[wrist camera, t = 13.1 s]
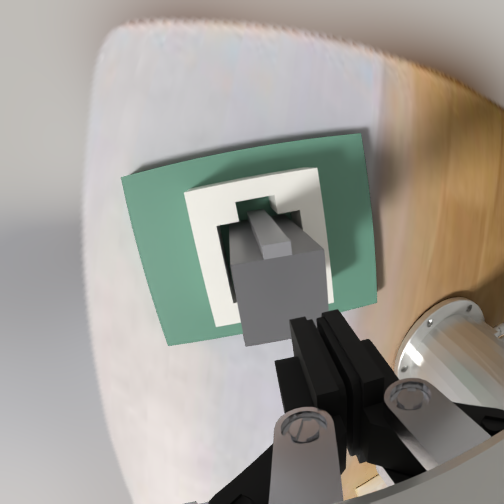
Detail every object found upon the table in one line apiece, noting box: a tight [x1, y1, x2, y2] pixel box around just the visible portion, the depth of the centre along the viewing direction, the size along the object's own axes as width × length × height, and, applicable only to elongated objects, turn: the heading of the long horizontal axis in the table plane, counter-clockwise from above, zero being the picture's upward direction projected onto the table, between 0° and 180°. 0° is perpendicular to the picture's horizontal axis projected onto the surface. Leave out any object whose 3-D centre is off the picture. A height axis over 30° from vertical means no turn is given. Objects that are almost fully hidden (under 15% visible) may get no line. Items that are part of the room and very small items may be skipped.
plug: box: [229, 209, 329, 347], centre depth 18 cm, size 4×5×10 cm
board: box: [121, 133, 377, 346], centre depth 24 cm, size 18×14×2 cm
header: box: [184, 167, 334, 327], centre depth 22 cm, size 8×9×4 cm
